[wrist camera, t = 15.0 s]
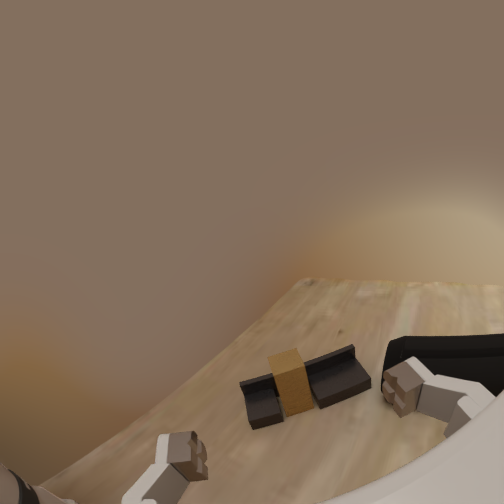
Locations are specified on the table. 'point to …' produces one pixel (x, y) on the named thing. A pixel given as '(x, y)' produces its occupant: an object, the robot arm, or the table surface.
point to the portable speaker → (454, 357)
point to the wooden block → (291, 381)
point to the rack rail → (320, 381)
